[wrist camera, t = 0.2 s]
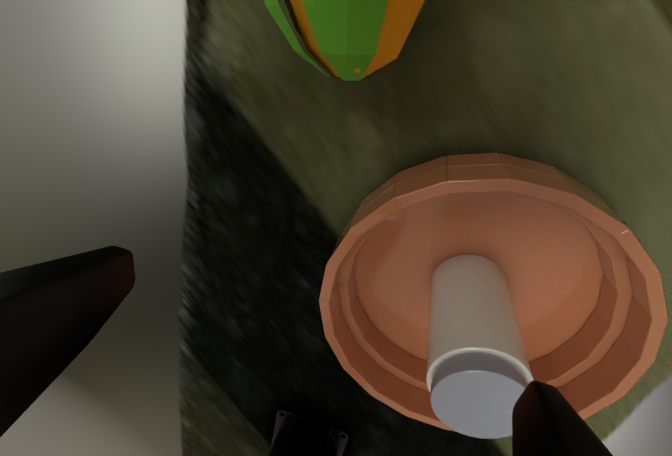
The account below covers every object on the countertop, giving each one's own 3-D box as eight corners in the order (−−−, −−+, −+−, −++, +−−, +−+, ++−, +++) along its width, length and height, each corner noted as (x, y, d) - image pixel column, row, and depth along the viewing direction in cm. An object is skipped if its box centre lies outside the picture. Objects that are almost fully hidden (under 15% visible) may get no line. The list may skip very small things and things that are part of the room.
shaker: (490, 322, 23) (512, 455, 16) (421, 301, 24) (412, 420, 17) (520, 266, 21) (562, 390, 14) (443, 244, 22) (444, 352, 14)
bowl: (541, 404, 26) (559, 469, 22) (320, 332, 28) (301, 381, 24) (693, 196, 18) (762, 241, 14) (369, 117, 20) (352, 137, 16)
